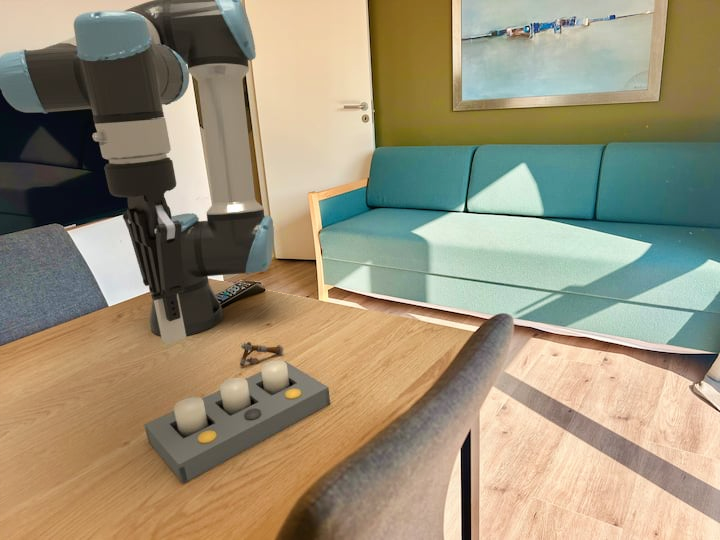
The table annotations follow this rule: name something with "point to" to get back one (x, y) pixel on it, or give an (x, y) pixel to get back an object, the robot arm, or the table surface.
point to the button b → (235, 395)
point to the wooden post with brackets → (248, 346)
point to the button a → (190, 416)
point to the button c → (275, 376)
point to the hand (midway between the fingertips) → (174, 339)
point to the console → (235, 424)
